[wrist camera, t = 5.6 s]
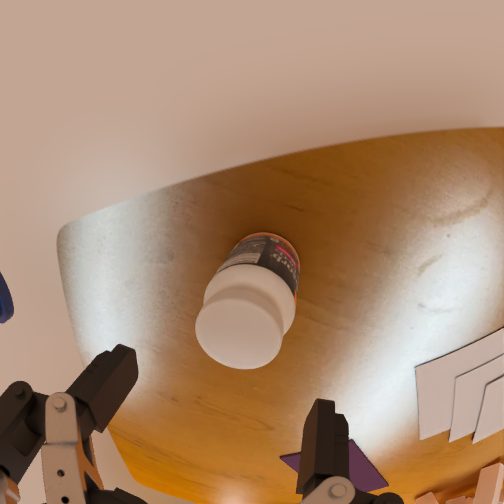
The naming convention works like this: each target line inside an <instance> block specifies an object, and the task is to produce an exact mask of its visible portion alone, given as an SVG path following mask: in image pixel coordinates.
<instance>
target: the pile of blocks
mask: <svg viewBox="0 0 504 504" xmlns="http://www.w3.org/2000/svg"><path fill="white" fill-rule="evenodd" d="M503 478H504V465H503V464H502V463H497V464H494V465H491V466H488V467H485V468H482V469H481V471H480V476H479V480H478V485H477V489H476V493H475V497H474V498H471V497H468V498H466V499H465V496H461V497H458V498H454V499H450V500H446V504H504V489H501V488H502V483H503ZM415 503H416V504H439V503H438V502H437V500H436V498H435V496H434V495H433V493H432V491H431V492H429V493H427V494H425V495H423V496H421V497H419V498H417V499H415Z"/></svg>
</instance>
